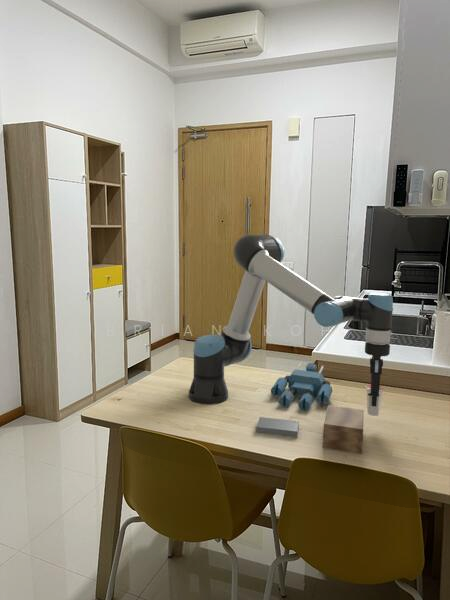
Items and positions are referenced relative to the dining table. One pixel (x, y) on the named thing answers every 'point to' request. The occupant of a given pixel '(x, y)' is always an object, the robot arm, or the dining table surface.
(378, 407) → the cup
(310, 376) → the toy
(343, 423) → the brown wooden block
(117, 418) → the dining table surface
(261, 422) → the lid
